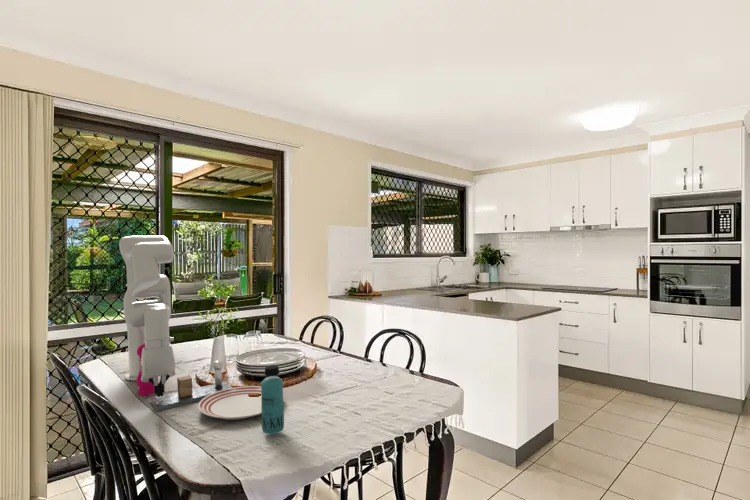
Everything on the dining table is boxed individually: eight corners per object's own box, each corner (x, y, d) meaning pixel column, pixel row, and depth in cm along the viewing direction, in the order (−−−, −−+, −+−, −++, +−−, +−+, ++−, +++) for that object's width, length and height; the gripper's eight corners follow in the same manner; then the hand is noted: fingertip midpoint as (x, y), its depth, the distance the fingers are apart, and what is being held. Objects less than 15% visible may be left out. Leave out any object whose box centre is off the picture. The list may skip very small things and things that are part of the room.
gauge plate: (151, 402, 152) (149, 370, 151) (225, 385, 168) (224, 356, 167) (157, 411, 144) (155, 377, 143) (234, 392, 160) (233, 361, 159)
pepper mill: (149, 396, 158) (147, 342, 157) (132, 395, 159) (129, 342, 158) (162, 389, 165) (160, 337, 164) (146, 388, 166) (144, 337, 165)
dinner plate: (283, 390, 162) (282, 381, 161) (283, 421, 135) (283, 410, 135) (205, 397, 156) (205, 388, 156) (190, 431, 129) (189, 420, 129)
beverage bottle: (263, 429, 128) (261, 363, 128) (286, 428, 129) (284, 362, 128) (259, 440, 122) (257, 370, 121) (283, 438, 123) (281, 369, 122)
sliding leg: (177, 394, 154) (177, 377, 154) (189, 391, 157) (188, 375, 156) (180, 397, 151) (180, 380, 151) (192, 394, 154) (191, 378, 153)
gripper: (177, 337, 156) (179, 387, 156) (130, 344, 146) (133, 397, 147) (183, 341, 150) (185, 393, 150) (135, 349, 140) (137, 404, 141)
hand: (159, 395), depth 149 cm, fingers closed
